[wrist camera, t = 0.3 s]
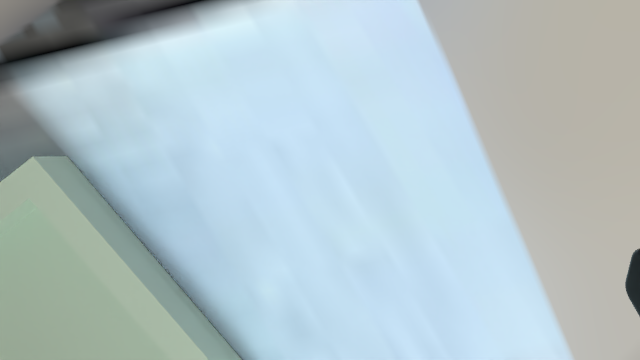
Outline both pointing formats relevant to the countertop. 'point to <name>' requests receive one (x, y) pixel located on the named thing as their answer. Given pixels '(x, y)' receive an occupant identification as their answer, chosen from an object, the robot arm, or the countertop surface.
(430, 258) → the countertop surface
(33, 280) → the tray
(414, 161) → the countertop surface
